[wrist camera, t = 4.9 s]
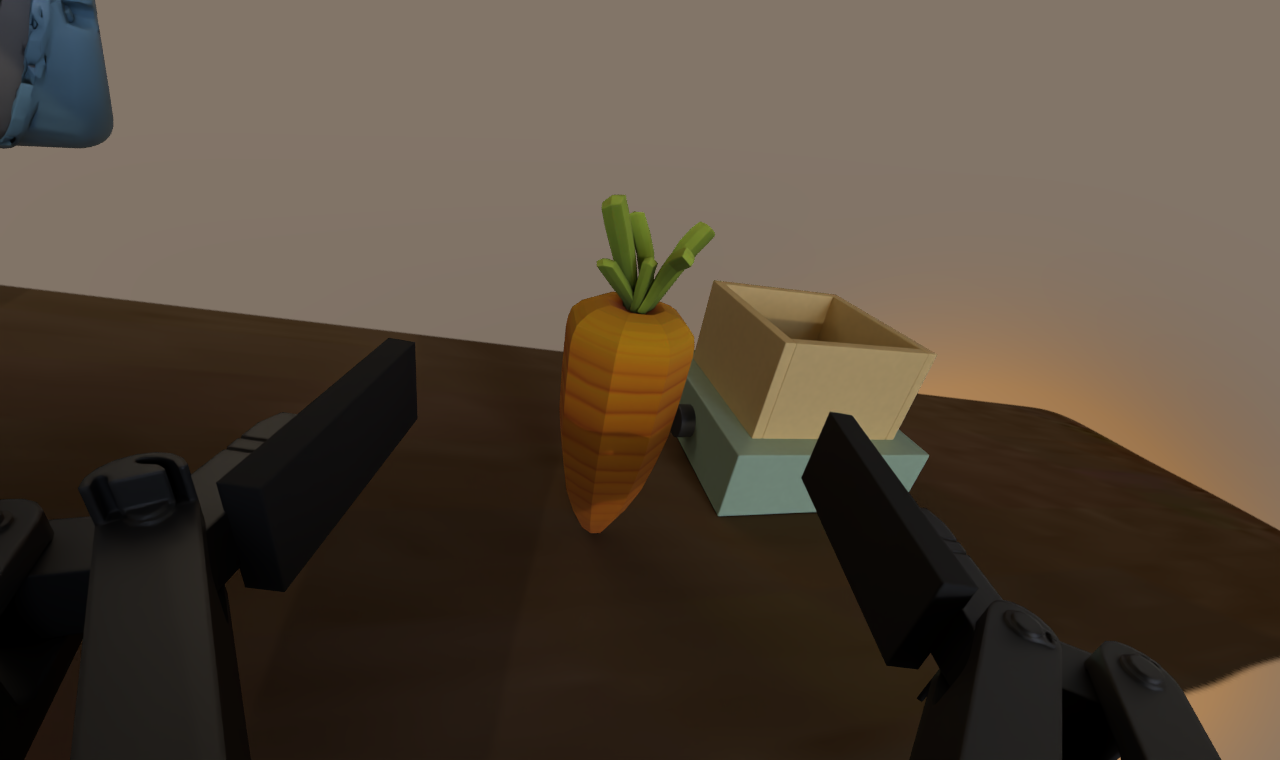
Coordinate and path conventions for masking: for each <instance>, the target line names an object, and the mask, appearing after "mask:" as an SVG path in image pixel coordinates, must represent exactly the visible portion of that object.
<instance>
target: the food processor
mask: <svg viewBox="0 0 1280 760" xmlns="http://www.w3.org/2000/svg"><path fill="white" fill-rule="evenodd" d="M936 356H937V355H936V354H935V353H934V352H932V351H930V350H928V349H927V348H925V347H923V346H922V345H920V344H918V343H916V342H915V341H913V340H912V339H910V338H908V337H906V336H905V335H903V334H901V333H900V332H898V331H896V330H895V329H893V328H891V327H889V326H888V325H886V324H884V323H883V322H881V321H879V320H877V319H876V318H874V317H873V316H870V315H869V314H868V313H866V312H864V311H862V310H861V309H859V308H857V307H856V306H854V305H852V304H851V303H849V302H847V301H845V300H844V299H842V298H840V297H839V296H837V295H834V294H826V293H817V292H809V291H801V290H792V289H784V288H775V287H766V286H758V285H749V284H741V283H732V282H724V281H723V282H722V281H715V280H714V281H713V285H712V289H711V293H710V296H709V300H708V304H707V308H706V312H705V316H704V320H703V323H702V327H701V331H700V335H699V339H698V342H697V346H696V350H694V354H693V359H692V362H691V365H690V369H689V372H688V376H687V379H686V382H685V386H684V389H683V393H682V396H681V399H680V402H679V405H678V408H677V411H676V414H675V417H674V420H673V424H672V427H671V433H672V435H673V436H674V437H677V438H678V440H679V442H680V444H681V446H682V448H683V450H684V451H685V453H686V455H687V457H688V459H689V461H690V463H691V465H692V467H693V469H694V471H695V473H696V475H697V477H698V479H699V481H700V482H701V484H702V486H703V488H704V490H705V492H706V494H707V496H708V498H709V500H710V502H711V504H712V506H713V508H714V510H715V512H716V514H717V515H718V516H735V515H758V514H781V513H804V512H816V509H815V507H814V505H813V503H812V501H811V498H810V496H809V494H808V492H807V490H806V487H805V485H804V483H803V481H802V479H801V477H802V475H803V472H804V470H805V468H806V465H807V463H808V461H809V458H810V456H811V454H812V452H813V449H814V447H815V445H816V442H817V440H818V438H819V435H820V433H821V431H822V428H823V426H824V424H825V421H826V419H827V417H828V415H829V412H836V413H842V414H848V415H852V416H853V417H854V418H855V420H856V421H857V422H858V424H859V425H860V427H861V428H862V429H863V431H864V432H865V433H866V435H867V436H868V437H869V439H870V440H871V442H872V443H873V444H874V446H875V447H876V448H877V450H878V451H879V453H880V454H881V455H882V457H883V458H884V459H885V461H886V462H887V463H888V465H889V466H890V468H891V469H892V470H893V472H894V473H895V474H896V476H897V477H898V479H899V480H900V481H901V483H902V484H903V485H904V487H905V488H906V489H907V491H908V492H909V491H910V489H911V487H912V485H913V484H914V482H915V480H916V478H917V477H918V475H919V473H920V471H921V470H922V468H923V466H924V464H925V463H926V461H927V459H928V457H929V455H928V454H927V453H926V452H925V451H924V450H922V449H921V448H920V447H919V446H918V445H917V444H915V443H914V442H913V441H912V440H911V439H909V438H908V437H907V436H906V435H905V434H903V433H902V432H901V431H900V430H899V427H900V425H901V423H902V422H903V420H904V418H905V416H906V414H907V412H908V410H909V408H910V406H911V404H912V402H913V400H914V398H915V397H916V395H917V393H918V391H919V389H920V387H921V385H922V383H923V381H924V379H925V377H926V375H927V373H928V371H929V370H930V368H931V366H932V364H933V362H934V360H935V358H936Z"/></svg>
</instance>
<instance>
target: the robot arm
mask: <svg viewBox="0 0 1280 760" xmlns="http://www.w3.org/2000/svg"><path fill="white" fill-rule="evenodd" d="M112 129H113V114H112V107H111V100H110V94H109V86H108V81H107V75H106V68H105V62H104V55H103V49H102V43H101V37H100V31H99V25H98V19H97V11H96V4H95V0H0V148H12V147H14V146H16V145H18V146H41V147H62V148H86V147H92V146H95V145H98V144H100V143H102V142H104V141H105V140H106V139H107V138H108V137H109V136H110V134H111V132H112ZM416 420H417V391H416V360H415V342H411V341H405V340H399V339H393V338H388V339H387V340H386V341H384V342H383V343H382V344H381V345H380V346H378V347H377V348H376V349H375V350H374V351H373V352H371V353H370V354H369V355H368V356H367V357H365V358H364V359H363V360H362V361H361V362H359V363H358V364H357V365H356V366H355V367H353V368H352V369H351V370H350V371H349V372H347V373H346V374H345V375H344V376H343V377H341V378H340V379H339V380H338V381H337V382H335V383H334V384H333V385H332V386H331V387H329V388H328V389H327V390H326V391H325V392H324V393H322V394H321V395H320V396H319V397H318V398H316V399H315V400H314V401H313V402H312V403H310V404H309V405H308V406H307V407H306V408H304V409H303V410H302V411H301V412H300V413H298V414H291V413H285V412H282V413H279V414H277V415H275V416H272V417H270V418H268V419H265V420H263V421H261V422H259V423H257V424H256V425H255V426H253V427H252V428H251V429H249V430H248V431H247V432H246V433H244V434H243V435H242V437H241V439H240V438H238V439H237V440H235V441H234V442H233V443H231V444H230V445H229V446H227V449H226V450H222V451H221V452H220V453H218V454H217V455H216V456H215V457H213V458H212V459H211V460H209V461H208V462H207V463H205V464H204V465H203V466H202V467H200V468H199V469H198V470H196V471H195V472H194V473H193V474H190V470H189V467H188V464H187V463H186V461H185V460H184V458H183V457H180V456H178V455H175V454H172V453H160V452H154V453H145V454H136V455H133V456H129V457H125V458H121V459H118V460H115V461H112V462H110V463H108V464H106V465H104V466H101V467H99V468H97V469H96V470H94V471H93V472H92V473H90V474H89V475H88V476H86V477H85V478H84V479H83V480H82V482H81V484H80V486H79V487H78V490H79V492H80V494H81V496H82V498H83V501H84V503H85V505H86V507H87V509H88V512H89V514H90V516H91V517H79V518H67V519H55V520H48V519H47V517H46V515H45V513H44V511H43V509H42V508H41V507H40V506H39V504H38V503H37V502H34V501H30V500H26V499H2V500H0V760H24V758H25V756H26V754H27V752H28V750H29V748H30V746H31V744H32V742H33V740H34V738H35V736H36V734H37V732H38V730H39V728H40V726H41V724H42V721H43V719H44V717H45V715H46V713H47V711H48V709H49V707H50V705H51V703H52V701H53V699H54V697H55V695H56V693H57V691H58V689H59V686H60V684H61V682H62V680H63V678H64V676H65V674H66V672H67V670H68V668H69V666H70V664H71V662H72V660H73V658H74V656H75V654H76V652H77V649H78V647H79V645H80V643H81V641H82V639H83V643H82V653H81V662H80V672H79V681H78V691H77V700H76V710H75V719H74V729H73V738H72V748H71V757H70V760H251V758H250V750H249V743H248V736H247V729H246V722H245V715H244V708H243V700H242V693H241V686H240V679H239V672H238V665H237V658H236V650H235V643H234V636H233V629H232V622H231V615H230V607H229V600H228V594H227V590H226V587H225V583H226V582H227V581H228V580H229V579H230V578H231V577H232V575H233V574H234V573H235V572H236V571H237V570H238V569H239V568H240V570H241V574H242V577H243V581H244V585H245V587H247V588H255V589H264V590H272V591H280V592H285V591H286V589H287V588H288V587H289V586H290V584H291V583H292V582H293V580H294V579H295V578H296V576H297V575H298V574H299V573H300V571H301V570H302V569H303V567H304V566H305V565H306V563H307V562H308V561H309V559H310V558H311V557H312V556H313V554H314V553H315V552H316V550H317V549H318V548H319V546H320V545H321V544H322V542H323V541H324V540H325V539H326V537H327V536H328V535H329V533H330V532H331V531H332V529H333V528H334V527H335V526H336V524H337V523H338V522H339V520H340V519H341V518H342V516H343V515H344V514H345V512H346V511H347V510H348V509H349V507H350V506H351V505H352V503H353V502H354V501H355V499H356V498H357V497H358V496H359V494H360V493H361V492H362V490H363V489H364V488H365V486H366V485H367V484H368V482H369V481H370V480H371V479H372V477H373V476H374V475H375V473H376V472H377V471H378V469H379V468H380V467H381V466H382V464H383V463H384V462H385V460H386V459H387V458H388V456H389V455H390V454H391V452H392V451H393V450H394V449H395V447H396V446H397V445H398V443H399V442H400V441H401V439H402V438H403V437H404V436H405V434H406V433H407V432H408V430H409V429H410V428H411V426H412V425H413V424H414V422H415V421H416ZM801 479H802V481H803V483H804V485H805V487H806V490H807V492H808V494H809V496H810V498H811V501H812V503H813V505H814V507H815V509H816V512H817V514H818V516H819V518H820V520H821V523H822V525H823V527H824V529H825V531H826V534H827V536H828V538H829V540H830V542H831V545H832V547H833V549H834V551H835V553H836V556H837V558H838V560H839V562H840V564H841V567H842V569H843V571H844V573H845V575H846V578H847V580H848V582H849V584H850V586H851V588H852V591H853V593H854V595H855V597H856V599H857V602H858V604H859V606H860V608H861V610H862V613H863V615H864V617H865V619H866V621H867V624H868V626H869V628H870V630H871V632H872V635H873V637H874V639H875V641H876V643H877V646H878V648H879V650H880V652H881V654H882V657H883V659H884V661H885V663H886V665H887V666H895V667H903V668H911V669H919V667H920V666H921V665H922V663H923V662H924V661H925V659H926V658H927V657H928V655H929V654H930V653H931V654H932V655H933V657H934V659H935V661H936V663H937V665H938V666H939V668H940V669H939V670H938V671H937V673H936V674H935V675H934V677H933V678H932V679H931V680H930V682H929V683H928V684H927V685H926V687H925V688H924V689H923V691H922V692H921V693H920V695H919V696H918V697H917V699H918V700H920V701H921V702H922V701H923V700H924V699H925V698H926V697H927V699H926V702H925V706H924V709H923V713H922V717H921V720H920V724H919V727H918V731H917V734H916V738H915V742H914V745H913V749H912V752H911V756H910V759H909V760H1117V759H1118V758H1120V757H1121V760H1221V758H1220V757H1219V755H1218V753H1217V751H1216V749H1215V748H1214V746H1213V744H1212V742H1211V741H1210V739H1209V737H1208V735H1207V733H1206V732H1205V730H1204V728H1203V726H1202V725H1201V723H1200V721H1199V719H1198V717H1197V715H1196V714H1195V712H1194V710H1193V708H1192V707H1191V705H1190V703H1189V701H1188V699H1187V698H1186V696H1185V694H1184V692H1183V691H1182V689H1181V688H1180V687H1179V685H1178V684H1177V683H1176V681H1175V680H1174V679H1173V678H1172V677H1171V676H1170V675H1169V674H1168V673H1167V672H1166V671H1165V670H1164V669H1163V668H1162V667H1161V666H1160V665H1159V664H1158V663H1156V662H1155V661H1154V660H1153V659H1152V660H1151V659H1150V657H1148V656H1147V655H1145V654H1143V653H1142V652H1139V651H1137V650H1135V649H1134V648H1132V647H1130V646H1128V645H1125V644H1122V643H1119V642H1116V641H1105V642H1104V643H1103V644H1102V645H1101V646H1100V647H1099V648H1098V649H1097V650H1096V651H1095V652H1094V653H1093V654H1091V653H1089V652H1086V651H1084V650H1081V649H1078V648H1076V647H1073V646H1071V645H1068V644H1066V643H1063V642H1060V641H1059V639H1058V638H1057V636H1056V635H1055V634H1054V632H1053V631H1052V629H1051V628H1050V627H1049V626H1048V625H1047V624H1045V623H1044V622H1043V621H1042V620H1041V619H1040V618H1039V617H1038V616H1036V615H1035V614H1033V613H1032V612H1030V611H1029V610H1027V609H1026V608H1024V607H1022V606H1019V605H1017V604H1015V603H1013V602H1009V601H1005V600H1003V599H1002V598H1001V597H1000V596H999V594H998V593H997V592H996V590H995V589H994V588H993V586H992V585H991V584H990V582H989V581H988V580H987V579H986V577H985V576H984V575H983V573H982V572H981V571H980V569H979V568H978V567H977V565H976V564H975V563H974V562H973V560H972V559H971V558H970V556H969V555H966V551H965V550H964V548H963V547H962V546H961V544H960V543H959V542H956V538H955V537H954V535H953V534H952V533H951V531H950V530H949V529H948V527H947V526H946V525H945V524H944V523H943V522H942V521H941V520H940V519H939V518H937V517H936V516H935V515H934V514H933V513H931V512H930V511H929V510H928V509H926V508H920V507H919V506H918V505H917V503H916V502H915V500H914V499H913V498H912V496H911V495H910V494H909V492H908V491H907V489H906V488H905V487H904V485H903V484H902V483H901V481H900V480H899V479H898V477H897V476H896V474H895V473H894V472H893V470H892V469H891V468H890V466H889V465H888V463H887V462H886V461H885V459H884V458H883V457H882V455H881V454H880V453H879V451H878V450H877V448H876V447H875V446H874V444H873V443H872V442H871V440H870V439H869V437H868V436H867V435H866V433H865V432H864V431H863V429H862V428H861V427H860V425H859V424H858V422H857V421H856V420H855V418H854V417H853V416H852V415H848V414H842V413H836V412H829V415H828V417H827V419H826V421H825V424H824V426H823V428H822V431H821V433H820V435H819V438H818V440H817V442H816V445H815V447H814V449H813V452H812V454H811V456H810V458H809V461H808V463H807V465H806V468H805V470H804V472H803V475H802V477H801Z"/></svg>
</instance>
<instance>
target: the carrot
mask: <svg viewBox="0 0 1280 760" xmlns="http://www.w3.org/2000/svg"><path fill="white" fill-rule="evenodd" d="M602 213H603V218H604V224H605V228H606V232H607V236H608V240H609V244H610V248H611V252H612V256H613V259H614V261H613V260H610V259H604V258H603V259H601V260H598V261H597V267H598V268H599V270H600V271H601V273H602V274H603V275H604V277H605V278H606V279H607V281H608V282H609V284H610V285H611V286H612V288H613V289H614V290H615V291H616V292H610V293H606V294H602V295H599V296H595V297H591V298H587V299H584V300H582V301H580V302H579V303H577V304H576V305H574V306H573V307H572V309H571V311H570V313H569V315H568V319H567V324H566V332H565V342H564V353H563V363H562V376H561V392H560V427H561V442H562V452H563V462H564V472H565V481H566V490H567V493H568V496H569V499H570V502H571V506H572V509H573V511H574V513H575V515H576V517H577V518H578V520H579V522H580V524H581V526H582V528H584V529H585V530H587V531H588V532H590V533H601V532H602V531H603V530H604V529H605V528H606V527H607V526H608V525H609V524H610V523H611V522H613V521H614V520H615V519H616V518H617V517H618V516H619V515H620V514H621V513H622V512H623V511H624V510H625V509H626V508H627V507H628V506H629V504H630V503H631V502H632V501H633V499H634V498H635V497H636V496H637V494H638V493H639V492H640V491H641V489H642V487H643V486H644V484H645V482H646V480H647V478H648V476H649V475H650V473H651V471H652V469H653V467H654V465H655V463H656V461H657V459H658V457H659V455H660V453H661V451H662V449H663V447H664V445H665V442H666V440H667V438H668V436H669V433H670V430H671V427H672V424H673V420H674V417H675V414H676V411H677V408H678V405H679V402H680V399H681V396H682V393H683V389H684V386H685V382H686V379H687V376H688V372H689V369H690V365H691V362H692V359H693V354H694V336H693V334H692V333H691V331H690V329H689V328H688V326H687V325H686V323H685V322H684V320H683V319H682V318H681V316H680V315H679V314H678V312H677V311H676V310H675V309H674V308H672V307H671V306H669V305H667V304H665V303H662V302H659V301H660V300H661V299H662V297H663V296H664V295H665V294H666V292H667V291H668V289H670V287H671V286H672V285H673V283H674V282H675V281H676V280H677V278H678V277H679V276H680V274H681V273H682V272H683V271H684V269H687V268H689V267H691V265H692V264H693V263H694V258H695V256H696V255H697V253H699V252H700V251H701V250H702V249H703V248H704V247H705V246H706V245H707V244H708V243H709V242H710V240H711V239H712V238H713V237H714V236H715V233H714V231H713V230H712V229H711V228H710V227H709V226H708V225H707V224H705V223H702V222H699V223H698V224H696V225H695V226H694V227H692V228H691V229H690V230H689V231H688V232H687V233H686V235H685V236H684V237H683V238H682V239H681V240H680V241H679V243H678V244H677V246H676V248H675V249H674V251H673V252H672V253H671V255H670V256H669V257H668V259H667V260H666V262H665V263H664V264H663V266H662V267H661V269H660V270H659V272H658V274H657V275H656V277H655V279H654V273H655V270H656V267H657V264H658V263H657V262H656V261H655V260H654V250H653V244H652V240H651V234H650V230H649V227H648V224H647V221H646V217H645V214H644V213H641V212H633V213H631V214H629V209H628V205H627V200H626V195H612V196H611V197H609V198H608V199H606V200H605V201H604V202H603V203H602ZM635 249H636V253H637V261H638V269H639V276H638V277H637V265H636V255H635Z"/></svg>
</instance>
